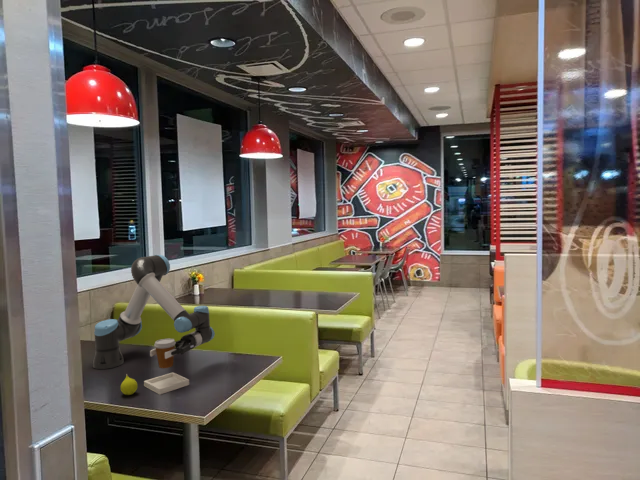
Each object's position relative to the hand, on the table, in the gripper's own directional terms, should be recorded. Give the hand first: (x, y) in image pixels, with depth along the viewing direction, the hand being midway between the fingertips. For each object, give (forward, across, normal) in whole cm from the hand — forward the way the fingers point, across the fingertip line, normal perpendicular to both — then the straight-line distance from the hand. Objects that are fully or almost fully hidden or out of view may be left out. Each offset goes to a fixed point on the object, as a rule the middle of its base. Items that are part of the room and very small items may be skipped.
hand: (158, 354), depth 213 cm
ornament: (+10, +9, -17) cm, 21 cm away
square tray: (-5, 0, -16) cm, 17 cm away
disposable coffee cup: (-5, 0, -7) cm, 9 cm away
